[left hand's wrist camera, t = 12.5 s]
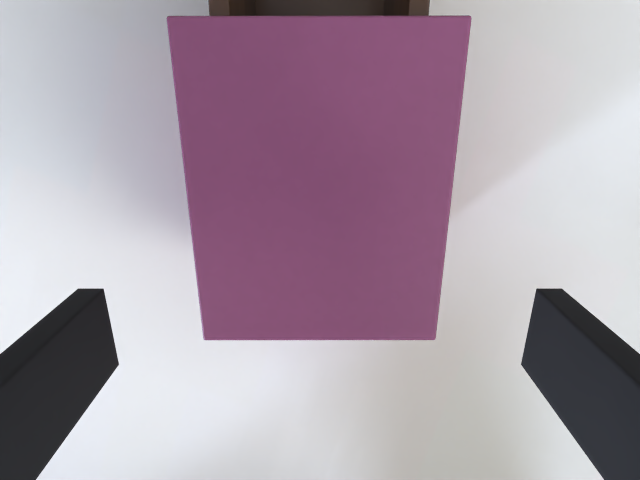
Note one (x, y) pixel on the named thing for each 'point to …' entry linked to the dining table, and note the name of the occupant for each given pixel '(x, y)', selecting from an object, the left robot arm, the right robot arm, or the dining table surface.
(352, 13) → the drawer
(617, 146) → the dining table surface
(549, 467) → the dining table surface
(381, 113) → the mauve rectangular box
